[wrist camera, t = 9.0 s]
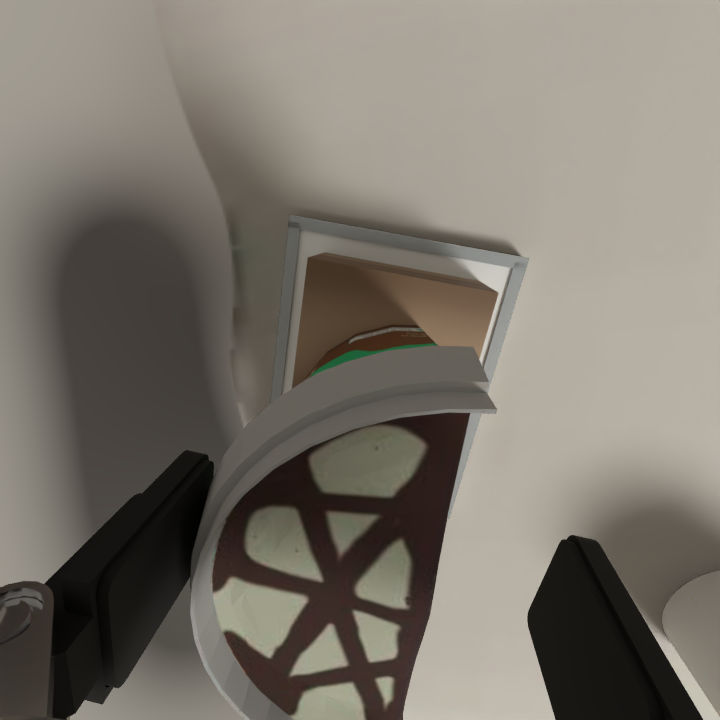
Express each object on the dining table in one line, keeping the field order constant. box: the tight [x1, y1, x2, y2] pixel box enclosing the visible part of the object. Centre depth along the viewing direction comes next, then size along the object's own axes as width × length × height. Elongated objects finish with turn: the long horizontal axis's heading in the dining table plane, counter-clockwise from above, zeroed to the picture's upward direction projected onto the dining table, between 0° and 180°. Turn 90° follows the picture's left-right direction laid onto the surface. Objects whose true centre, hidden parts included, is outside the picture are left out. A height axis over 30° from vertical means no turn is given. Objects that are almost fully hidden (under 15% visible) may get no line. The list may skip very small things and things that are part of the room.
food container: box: [190, 325, 497, 720], centre depth 13 cm, size 12×6×10 cm, turn 174°
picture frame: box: [270, 215, 529, 519], centre depth 22 cm, size 16×12×1 cm
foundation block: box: [292, 252, 499, 388], centre depth 20 cm, size 13×8×4 cm, turn 170°
